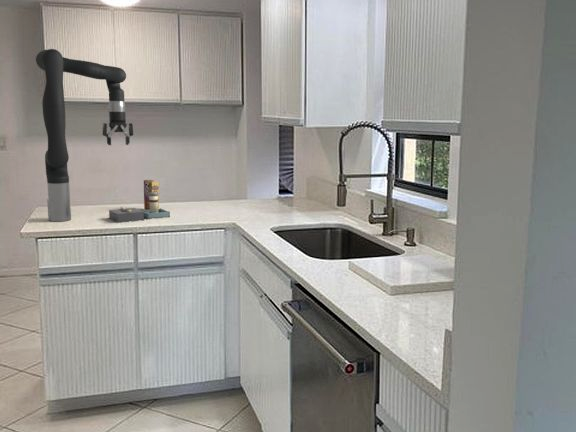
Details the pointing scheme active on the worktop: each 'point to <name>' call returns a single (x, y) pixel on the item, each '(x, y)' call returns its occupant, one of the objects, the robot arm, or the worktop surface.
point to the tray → (156, 214)
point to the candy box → (150, 187)
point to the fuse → (153, 202)
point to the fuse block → (126, 215)
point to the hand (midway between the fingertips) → (118, 144)
